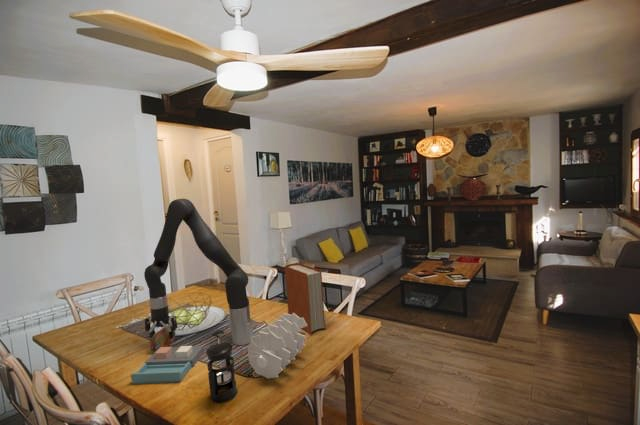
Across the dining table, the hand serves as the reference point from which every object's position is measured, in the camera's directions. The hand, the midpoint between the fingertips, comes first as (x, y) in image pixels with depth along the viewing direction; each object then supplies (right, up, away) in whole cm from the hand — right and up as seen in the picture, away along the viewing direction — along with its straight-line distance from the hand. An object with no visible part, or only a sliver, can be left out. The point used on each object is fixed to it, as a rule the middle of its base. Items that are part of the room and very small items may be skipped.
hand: (162, 338), depth 157 cm
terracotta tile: (+7, -2, -14) cm, 16 cm away
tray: (+12, -6, -24) cm, 27 cm away
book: (+67, +2, +13) cm, 68 cm away
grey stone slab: (+12, -4, -13) cm, 18 cm away
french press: (+40, -5, -39) cm, 56 cm away
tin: (+1, -4, 0) cm, 4 cm away
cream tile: (+16, -1, -15) cm, 22 cm away
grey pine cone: (+58, -3, -22) cm, 62 cm away
